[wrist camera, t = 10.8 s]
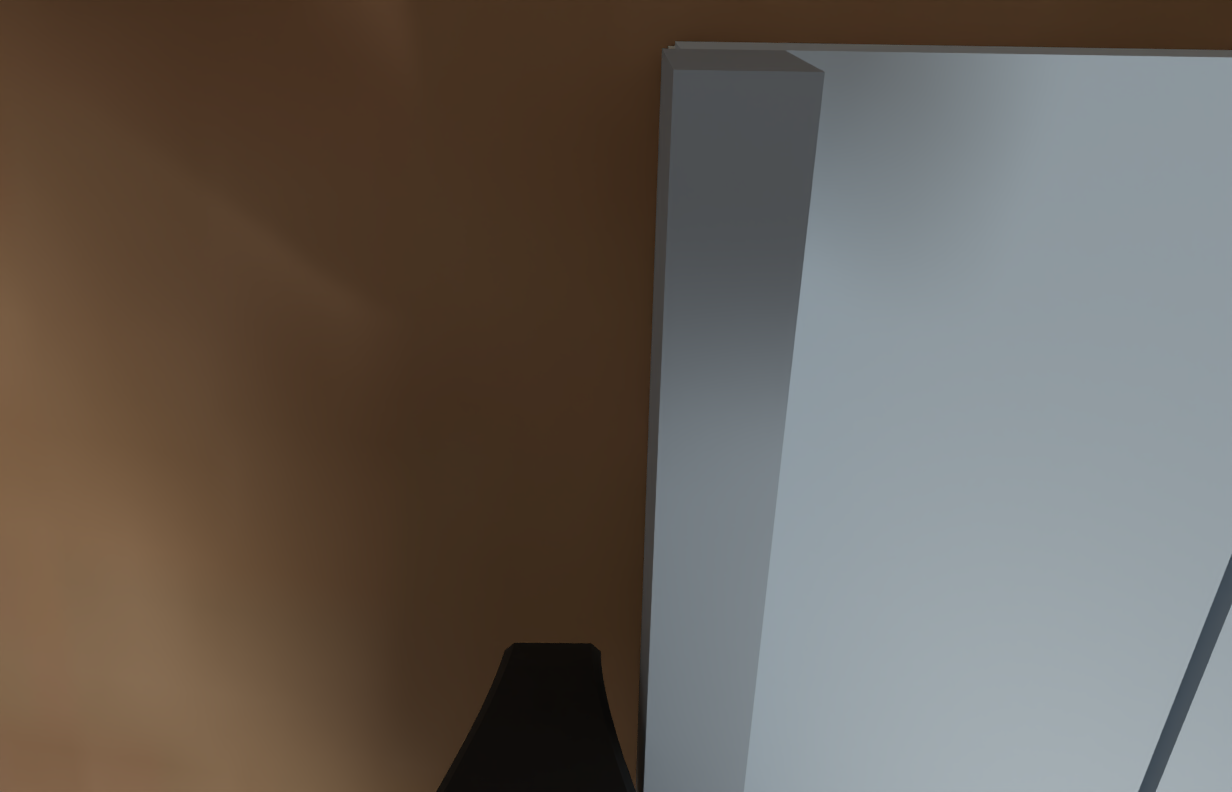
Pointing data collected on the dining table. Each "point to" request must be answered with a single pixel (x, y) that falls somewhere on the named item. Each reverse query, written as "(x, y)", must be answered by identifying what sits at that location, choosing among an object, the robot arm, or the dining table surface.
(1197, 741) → the flap
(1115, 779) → the flap
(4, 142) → the dining table surface
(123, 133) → the dining table surface
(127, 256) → the dining table surface
